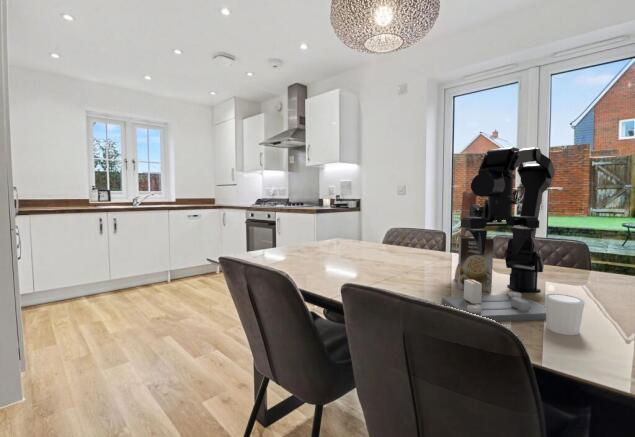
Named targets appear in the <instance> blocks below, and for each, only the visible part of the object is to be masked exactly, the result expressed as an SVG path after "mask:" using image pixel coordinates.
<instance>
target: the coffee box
mask: <svg viewBox="0 0 635 437" xmlns="http://www.w3.org/2000/svg"><path fill="white" fill-rule="evenodd" d="M458 238H459V240H458V242H459V243H458V260H457V262H458V264H457V265H458V281H457V287H458V289H459V290H464V280H468V279H471V280H475V281H477V282H479V283H481V284H482V292H486V291H489V292H488V293H492V286H493V285H492V284H493V260H494V238H493V237H492V236H487V237H486V245H485V252H484V255H480V253H479V250H478V247H477V244H476V241H475V239H474V237H473V236H464V235H461V234H460V235H459V237H458Z"/></svg>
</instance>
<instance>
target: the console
mask: <svg viewBox="0 0 635 437" xmlns="http://www.w3.org/2000/svg"><path fill="white" fill-rule="evenodd" d="M441 304H443V306H446V305H447V306H450V307H453V308H456V309H459V310H463V311H466V312H469V313H472V314H476V315H479V316H482V317H486V318H489V319H492V320H495V321H497V322H519V321H521V322H522V321H523V322H524V321H541V320H542V321H543V320H545V321H546V307H545V304H544V305H543V304H541V303H539V302H537V301H534V300H533V299H530V298H528V297H526V296H524V295H522V292H519V291H508V294H496V295H494V294H493V295H481V303H471V302H469V301H467V300H466V299H464V295H463V296H441ZM445 304H446V305H445ZM447 306H446V307H447ZM497 322H496V323H497Z"/></svg>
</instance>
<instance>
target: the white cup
mask: <svg viewBox="0 0 635 437" xmlns="http://www.w3.org/2000/svg"><path fill="white" fill-rule="evenodd" d="M544 303H545V304H544V306H545V307H546V320H545V321H546V328H547V329H548V330H549V331H551V332H554V333H557V334H560V335H564V336H565V335H566V336H576V335H579V334H580V330H581V324H582V319H583V312H584V307H585V300H583V299H582V298H580V297H577V296H573V295H568V294H562V293H547V294H545V295H544Z"/></svg>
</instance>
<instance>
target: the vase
mask: <svg viewBox="0 0 635 437" xmlns="http://www.w3.org/2000/svg"><path fill="white" fill-rule="evenodd" d="M477 197H478V196H477V195H475V194H474V193H473V192H472V190H471V191H463V192H462V199H461V209H460V210H461V211H460V215H459V221H460V223H461V220H462V218H463V217H470V206H472V205H477ZM460 235H464V236H473V235H472V234H471V232H470V231H467V230H466V229H465V228H463V227H461V226H460ZM454 279H455V281H456V282H458V264H457V266H456V269H455V273H454Z"/></svg>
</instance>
